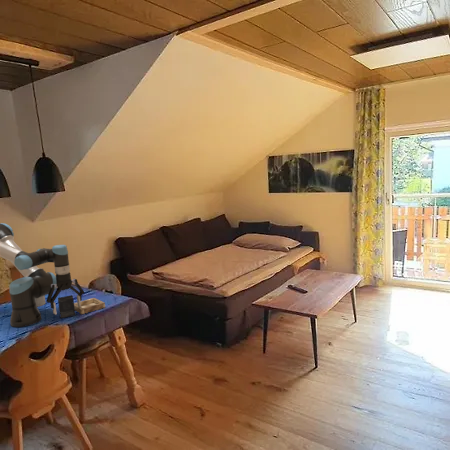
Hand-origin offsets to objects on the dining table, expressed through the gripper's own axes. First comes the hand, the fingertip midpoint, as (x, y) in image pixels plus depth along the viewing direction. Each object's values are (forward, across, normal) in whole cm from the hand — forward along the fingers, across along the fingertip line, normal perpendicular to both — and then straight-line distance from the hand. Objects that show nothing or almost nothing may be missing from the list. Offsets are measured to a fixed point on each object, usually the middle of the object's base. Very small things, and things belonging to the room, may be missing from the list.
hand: (67, 310), depth 223 cm
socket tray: (+3, +13, +2) cm, 13 cm away
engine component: (+3, -5, +35) cm, 36 cm away
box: (+3, 0, 0) cm, 3 cm away
